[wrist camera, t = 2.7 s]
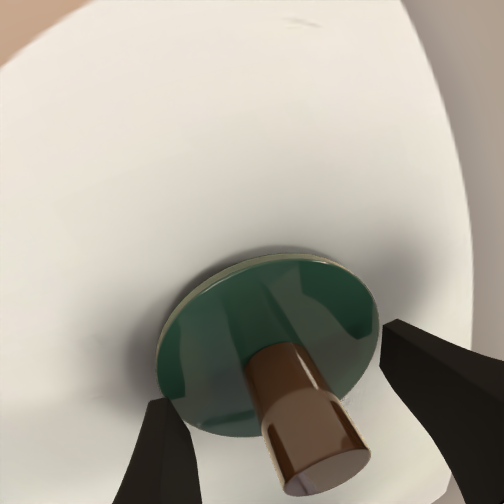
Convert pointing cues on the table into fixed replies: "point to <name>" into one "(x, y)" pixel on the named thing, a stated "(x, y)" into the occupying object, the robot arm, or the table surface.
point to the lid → (275, 363)
